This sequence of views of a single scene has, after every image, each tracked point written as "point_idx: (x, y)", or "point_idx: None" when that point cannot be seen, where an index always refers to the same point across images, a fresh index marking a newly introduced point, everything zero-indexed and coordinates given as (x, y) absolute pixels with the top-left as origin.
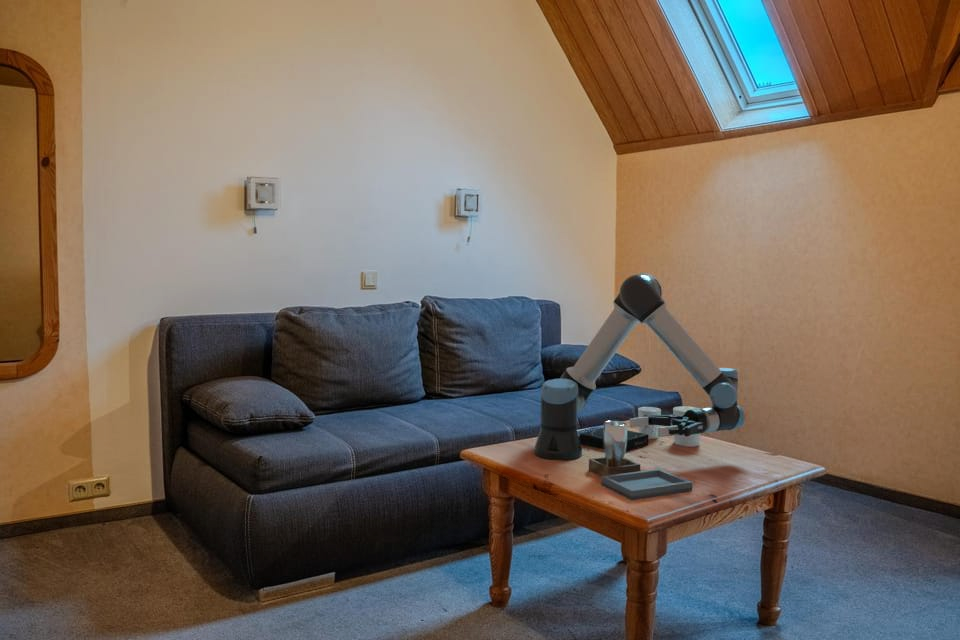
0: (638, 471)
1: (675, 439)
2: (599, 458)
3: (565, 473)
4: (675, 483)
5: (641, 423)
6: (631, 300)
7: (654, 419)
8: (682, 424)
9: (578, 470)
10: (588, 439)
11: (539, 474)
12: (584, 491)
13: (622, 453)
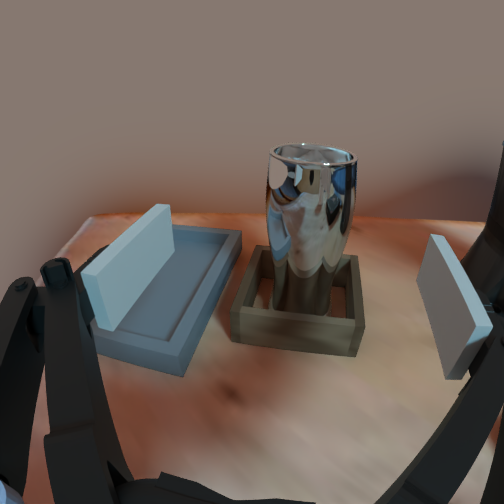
0: (208, 295)
1: None
2: (354, 273)
3: (351, 248)
4: None
5: (440, 314)
6: None
7: (467, 388)
8: (42, 267)
9: (363, 271)
10: None
11: (361, 224)
12: (234, 222)
13: (270, 249)
